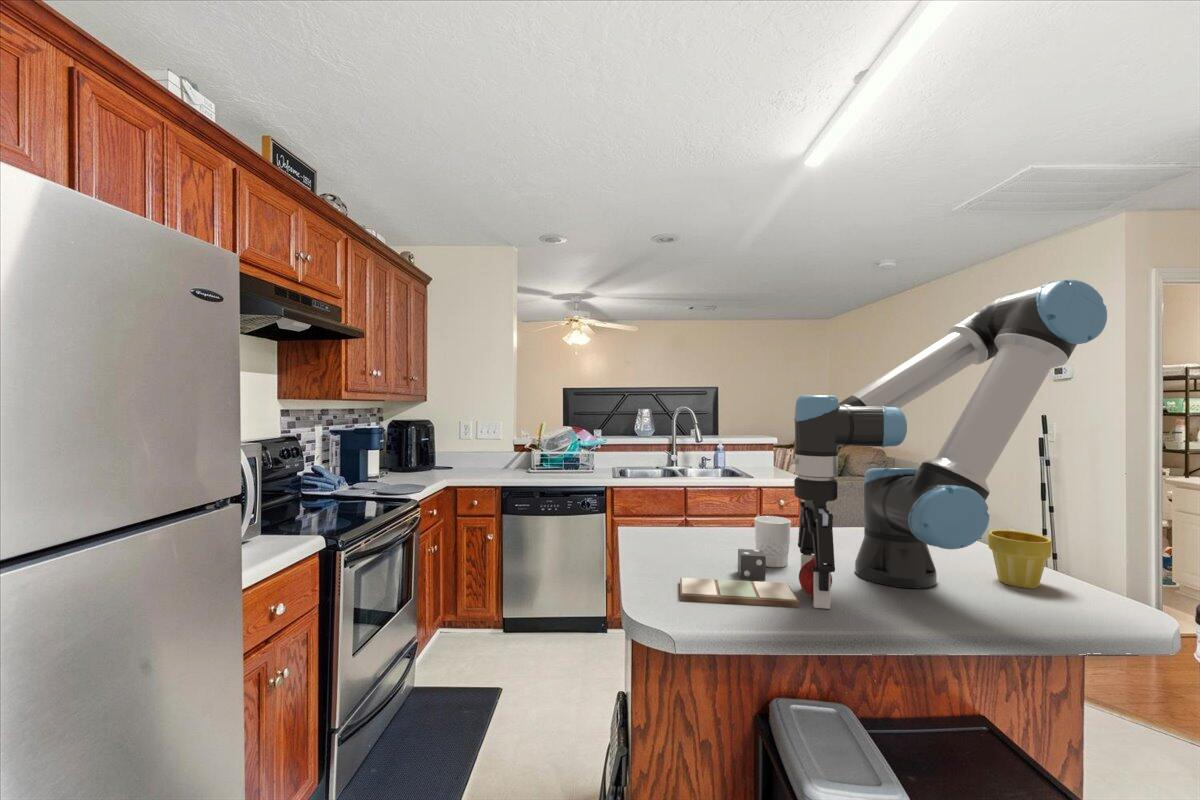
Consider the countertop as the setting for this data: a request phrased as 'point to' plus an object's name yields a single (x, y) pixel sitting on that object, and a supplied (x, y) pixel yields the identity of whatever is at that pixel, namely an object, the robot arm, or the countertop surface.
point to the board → (737, 592)
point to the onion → (808, 577)
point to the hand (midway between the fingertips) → (814, 597)
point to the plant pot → (1019, 556)
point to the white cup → (773, 539)
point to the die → (751, 564)
